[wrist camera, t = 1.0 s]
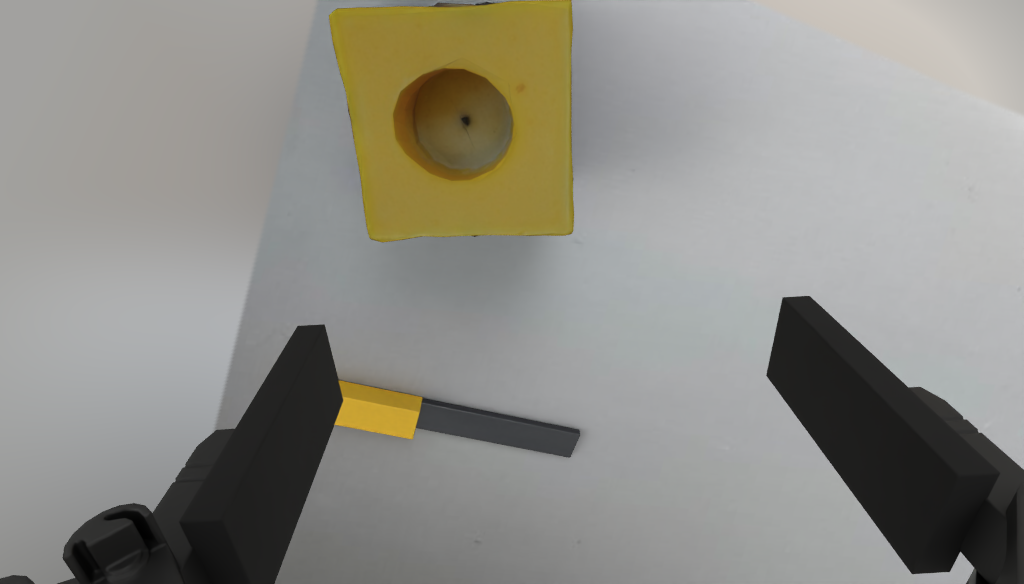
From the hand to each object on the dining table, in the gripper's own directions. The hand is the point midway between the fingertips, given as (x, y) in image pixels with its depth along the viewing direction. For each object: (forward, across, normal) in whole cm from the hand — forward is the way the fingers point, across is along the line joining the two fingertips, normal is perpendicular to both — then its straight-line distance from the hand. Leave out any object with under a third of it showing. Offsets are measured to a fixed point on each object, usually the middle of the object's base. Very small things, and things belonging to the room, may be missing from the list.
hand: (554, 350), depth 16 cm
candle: (+21, -3, +4) cm, 21 cm away
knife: (+20, -7, -20) cm, 29 cm away
